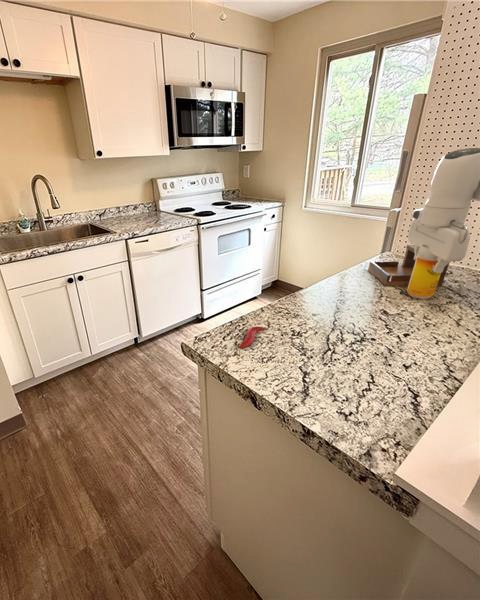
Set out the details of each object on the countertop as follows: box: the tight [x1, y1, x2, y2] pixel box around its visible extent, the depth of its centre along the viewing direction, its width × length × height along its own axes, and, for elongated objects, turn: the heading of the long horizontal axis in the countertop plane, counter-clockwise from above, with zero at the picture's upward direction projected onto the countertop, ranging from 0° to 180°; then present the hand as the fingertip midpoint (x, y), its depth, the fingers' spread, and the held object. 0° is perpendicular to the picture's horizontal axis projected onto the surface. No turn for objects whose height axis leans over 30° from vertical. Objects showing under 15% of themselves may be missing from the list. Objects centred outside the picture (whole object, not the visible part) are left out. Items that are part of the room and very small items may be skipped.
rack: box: [367, 244, 451, 287], centre depth 101 cm, size 15×14×9 cm
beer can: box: [406, 245, 441, 300], centre depth 88 cm, size 6×6×15 cm
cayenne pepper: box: [237, 326, 265, 349], centre depth 79 cm, size 12×5×2 cm, turn 125°
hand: (426, 266), depth 88 cm, fingers open, 8 cm apart
